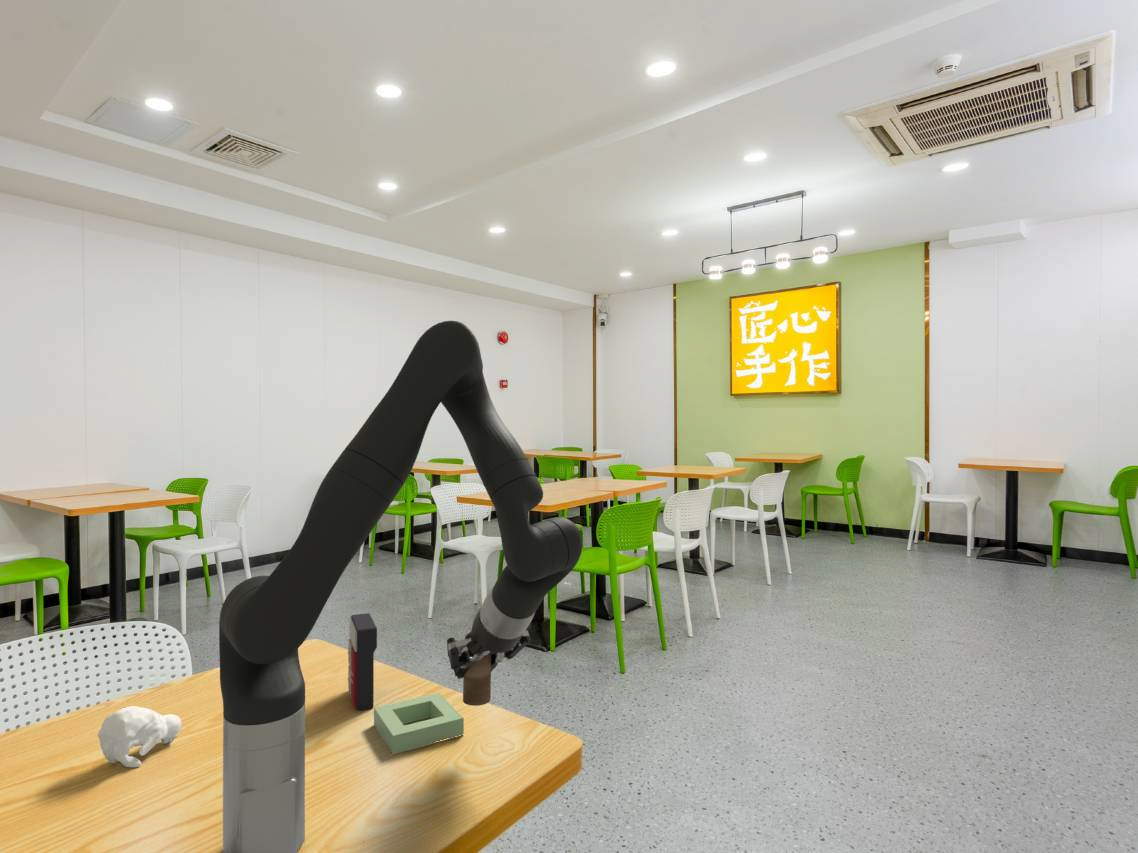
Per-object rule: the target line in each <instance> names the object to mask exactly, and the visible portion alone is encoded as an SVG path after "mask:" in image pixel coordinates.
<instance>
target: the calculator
mask: <svg viewBox="0 0 1138 853" xmlns="http://www.w3.org/2000/svg"><path fill="white" fill-rule="evenodd" d="M347 645H348V648H347V649H348V651H347V655H348V656H347V657H348V661H347V662H348V667H347V669H348V671H347V672H348V676H347V681H348V682H347V685H348V687H347V688H348V692H349V695H350V699H351V704H352V706H353V708H356V711H363V710H369V709H372V708H373V709H374V705H375V704H374V693H375V692H374V688H375V686H374V685H375V684H374V682H375V681H374V679H375V678H374V675H375V674H374V671H375V670H374V667H375V666H374V664H375V663H374V662H375V661H374V660H375V658H374V655H375V654H374V653H375V651H376V649H377V647H378V628H377V625H376V624H375V622H374V619H373V617H372V616H371V614H370V612H366V613H359V614H352V615H351V616H350V618H349V638H348V644H347Z"/></svg>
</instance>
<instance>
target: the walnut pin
mask: <svg viewBox="0 0 1138 853" xmlns="http://www.w3.org/2000/svg"><path fill="white" fill-rule="evenodd" d="M466 657H467V656H466ZM462 680H463V682H462V689H463V690H462V702H463V704H465V705H468V706H471V707H473V706H475V707H476V706H477V707H479V706H483V705H486V704H488V703H490V702H491V694H492V691H491V690H492V689H491V688H492V685H491V684H492V681H491V680H492V672H491V654H488V655H486V656H483V657H482V658H481V659H480V660H479V661H478V662H477V663H473V664H471V665H470V666H469V667H468V670H467V672H466V673H465V674H464V677H463V678H462Z"/></svg>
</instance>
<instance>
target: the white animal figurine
mask: <svg viewBox="0 0 1138 853" xmlns="http://www.w3.org/2000/svg"><path fill="white" fill-rule="evenodd" d="M181 729H182V720H181V718H180V717H179V716H178V715H176V714H172V713H171V714H165V715H163V714H160V713H159V712H157V711H154V710H153V709H149V708H147V707H141V706H136V705H131V706H127V707H123V708H120V709H118V710H117V711H115V712H113V713H112V714H110V715H108V716H107V717H106V718H105V719H104V720H103V722H102V724H101V727H100V729H99V731H98V732H97V737H98V739H99V743H100V748H101V752H102V754H103V756H104V758H105V760H107V761H108V762H110V763H111V764H116V763H118V762H119V763H121V765H123V766H124V767H126V768H139V767H140V766H142V762H141V760H140V759H138V758H137V757H135V756H132V755H129V754H130V750H131V749H132V748H133V747H140V746H141V748H140V749H139V755H140V756H145V755H146V754H147V753H148V752H149V751H150V750H151V749H153V748H154V747H155V746H156V745H157V743H160V742H161V743H162V744H163V745H167V744H168V743H169V744H170V743H171V744H173V743H174V742H175V739H176V738H177V736H178V734H179V732H180V731H181Z"/></svg>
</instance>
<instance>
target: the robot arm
mask: <svg viewBox="0 0 1138 853" xmlns="http://www.w3.org/2000/svg"><path fill="white" fill-rule="evenodd" d="M483 369H484V364H483V360H482V354H481V347H480V345H479V342H478V339H477V337H476V335H475V334H474V332H473V330H472V329H471V328H470V326H468V325H466V324H465V323H463V322H461V321H457V320H445V321H441V322H438V323H435V324H434V325H432V326H430V327H429V328H428V329H427V330H425V331H424V332H423V334H422V335H421V336H420V337H419V338H418V339H417V341H416V343H415V345H414V346H413V348H412V349H411V352H410V353H409V355H408V357H407V359H406V360H405V362H404V364H403V366H402V368H401V369H400V370H399V372H398V374H397V376H396V377H395V379H394V380H393V382H392V384H391V385H390V387H389V389H388V390H387V392H386V393H385V395H383V397H382V399H381V400H380V401H379V403H378V404H377V405H376V407H375V408H374V409H373V411H371V413H370V414H369V416H368V417H367V418H366V420H365V422H363V424H362V426H361V427H360V429H359V430H358V431H357V433H356V434H355V435H354V437H353V438H352V439H351V440H350V441H349V443H348V444H347V446H345V448H344V449H343V450H342V452H341V453H340V455H339V456H338V458H336V460H335V462H334V463H333V464H332V465H331V467H330V468H329V470H328V471H327V473H326V474H325V476H324V477H323V479H322V482H321V483H320V485H319V487H318V489H317V490H316V493H315V495H314V498H313V501H312V503H311V506H310V508H309V511H308V512H307V515H306V519H305V521H304V524H303V526H302V528H301V531H300V532H299V534H298V537H297V539H296V540H295V542H294V543H293V545H292V546H291V548H290V549H289V551H288V552H287V553H286V555H285V556H283V558H282V559H281V561H280V562H279V563H278V564H277V565H276V567H275V568H274V570H273V571H272V572H271V573H270V574H269V575H257V576H253V577H250V578H247V579H245V580H243V581H241V582H240V583H238V584H237V585H236V586H235V587H233V588H232V589H231V590H230V592H229V593H228V595H227V596H226V597H225V599H224V601H223V603H222V606H221V609H220V613H219V622H218V623H219V625H218V626H219V628H218V631H219V632H218V634H219V636H218V638H219V640H218V641H219V642H218V643H219V644H218V645H219V650H218V651H219V653H218V654H219V684H220V691H221V698H222V709H223V710H222V711H223V715H222V716H223V718H222V719H223V720H222V724H223V726H222V729H223V730H222V732H223V734H222V737H223V738H222V853H298V851H299V850H300V849H301V847H302V845H303V843H304V842H305V838H306V837H305V836H306V802H305V800H306V798H305V796H306V779H305V778H306V683H305V678H304V675H303V672H302V668H301V664H300V658H299V648H300V647H301V646H302V644H304V642H305V641H306V640H307V638H308V637H309V635H310V634H311V633H312V632H311V631H312V630H313V628H314V626H316V623H317V620H318V619H319V618H320V615H321V614H322V611H323V610H324V608H325V606H326V604H327V602H328V600H329V598H330V597H331V595H332V593H333V591H334V589H335V587H336V586H337V583H338V582H339V580H340V579H341V577H342V575H343V574H344V572H345V570H346V569H347V567H348V565H349V564H350V562H352V560H353V558H354V557H355V555H356V554H357V553H358V552H359V550H360V548H361V547H362V546H363V544H364V543H365V542H366V540H367V538H368V537H369V536H370V534H372V531H373V530H374V528H375V526H376V525H377V524H378V522H379V521H380V520H381V518H382V516H384V514H385V513H386V512H387V510H388V508H389V507H390V505H391V504H392V503H393V501H394V499H395V498H396V496H397V495H398V493H399V492H400V491H401V489H402V488H403V486H404V485H405V483H407V482H406V481H407V480H408V478H409V476H410V474H411V472H412V470H413V468H414V465H415V463H416V461H417V458H418V455H419V453H420V450H421V446H422V444H423V440H424V438H425V434H426V431H427V429H428V426H429V424H430V422H431V420H432V417H433V415H434V414H435V411H436V410H437V408H438V407H439V406H440V404H442V406H443V407H444V408H445V410H446V411H447V413H448V414H449V415H450V417H451V418H452V420H453V421H454V423H455V425H456V427H457V428H458V430H459V432H460V434H461V436H462V438H463V440H464V442H465V444H466V447H467V450H468V451H469V452H468V453H469V455H470V457H471V460H472V462H473V464H474V467H475V470H476V471H477V474H478V476H479V478H480V480H481V482H482V484H483V487H484V489H485V491H486V493H487V495H488V497H489V498H490V500H491V503H492V505H493V508H494V510H495V514H496V518H497V523H498V524H497V525H498V528H499V533H500V534H499V535H500V538H501V546H502V553H503V557H504V560H505V561H504V562H505V563H506V566H505V567H504V568H503V569H502V571H501V572H500V574H499V576H498V578H497V579H496V582H495V583H494V585H493V587H491V589H490V590H489V592H488V593H487V595H486V597H485V598H484V600H483V602H482V604H481V606H480V608H479V610H478V611H477V613H476V615H475V617H474V618H473V621H472V622H473V623H472V624H471V630H470V631H469V632H468V633H467V634H466V635H465V637H464V638H463V639H461V640H458V639H457V640H456V638H455V637H450V638H448V639H447V640H446V646H447V648H446V649H447V657H448V660H449V664H450V668H451V670H453V673H454V675H455V677H456V678H457V679H458V680H460V679H463V677H464V674H465V673H466V672H467V670H468V667H469V666H470V665H471V664H473V663H477V662H478V661H479V660H480V659H481V658H482V657H483V656H486V655H488V654H491V673H492V672H493V670H495V669H496V667H497V666H498V665H499V664H500V663H502V662H503V660H504V659H505V658H506V660H511V659H513V658H514V657H515V656H517V655H518V654H519V653H520V652H521V651H522V650H523V649H524V648H525V647H526V646H528V644H530V643H531V641H532V640H531V636H530V634H529V631H528V627H529V626H530V624H531V622H532V620H533V619H534V616H535V614H536V611H537V610H538V609H539V607H540V606H541V603H542V602H543V600H544V599H545V597H546V595H547V594H548V593H549V592H550V591H552V590H553V589H554V588H556V586H557V585H559V584H560V583H561V582H562V580H564V579H565V578H566V577H567V576H568V575H569V574H570V573H571V572H572V571H573V570H574V568H575V567H576V565H577V564H578V563H579V560H580V558H581V556H582V552H583V536H582V533H581V531H580V529H579V528H578V526H577V525H576V523H574V522H573V521H571V520H570V519H568V518H564V517H553V518H552V517H551V518H548V519H545V520H542V521H539V522H536V523H531V524H530V521H529V519H528V513H529V512H531V511H532V510H533V509H535V508H536V507H537V506H538V505H540V503H541V502H542V500H543V497H544V490H543V487H542V485H541V482H540V481H539V479H538V476H537V475H536V473H535V470H534V469H533V467H532V466H531V463H530V462H529V460H528V458H527V456H526V455H525V454H526V453H524V451H523V449H522V447H521V446H520V444H519V442H518V441H517V439H516V438H515V436H514V435H513V434H512V432H511V431H510V430H509V429H508V427H507V426H506V425H505V423H504V422H503V420H502V419H501V417H500V415H499V414H498V412H497V409H496V408H495V405H494V403H493V401H492V398H491V395H490V392H489V390H488V386H487V383H486V379H485V376H484V370H483ZM466 656H467V657H466Z"/></svg>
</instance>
